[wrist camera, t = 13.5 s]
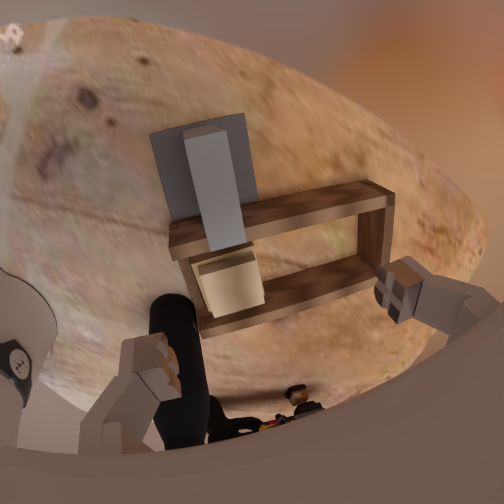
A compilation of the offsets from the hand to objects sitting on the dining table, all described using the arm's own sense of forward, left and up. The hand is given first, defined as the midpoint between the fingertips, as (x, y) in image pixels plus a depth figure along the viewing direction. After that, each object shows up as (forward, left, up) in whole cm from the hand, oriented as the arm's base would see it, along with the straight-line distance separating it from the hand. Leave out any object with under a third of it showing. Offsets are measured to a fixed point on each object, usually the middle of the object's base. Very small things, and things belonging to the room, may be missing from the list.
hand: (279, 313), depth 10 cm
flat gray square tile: (0, +1, -23) cm, 23 cm away
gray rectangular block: (0, +1, -23) cm, 23 cm away
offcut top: (-1, -12, -19) cm, 22 cm away
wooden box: (+7, -11, -23) cm, 27 cm away
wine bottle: (-9, -17, -24) cm, 31 cm away
